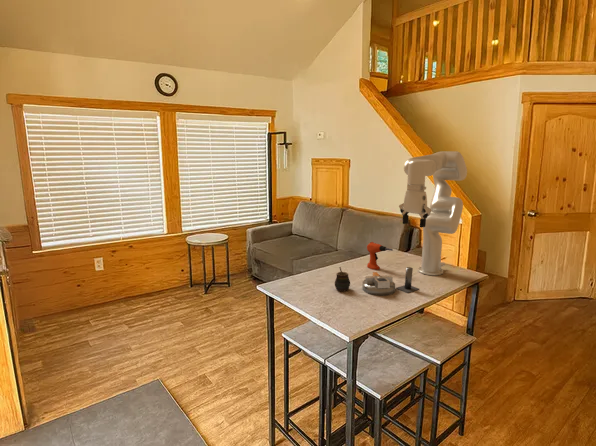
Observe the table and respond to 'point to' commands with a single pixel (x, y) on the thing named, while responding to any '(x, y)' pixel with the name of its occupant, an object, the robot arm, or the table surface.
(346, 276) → the mate gourd
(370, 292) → the chuck base
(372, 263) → the toy drill
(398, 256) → the table surface
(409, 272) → the grey pestle
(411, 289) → the mat
